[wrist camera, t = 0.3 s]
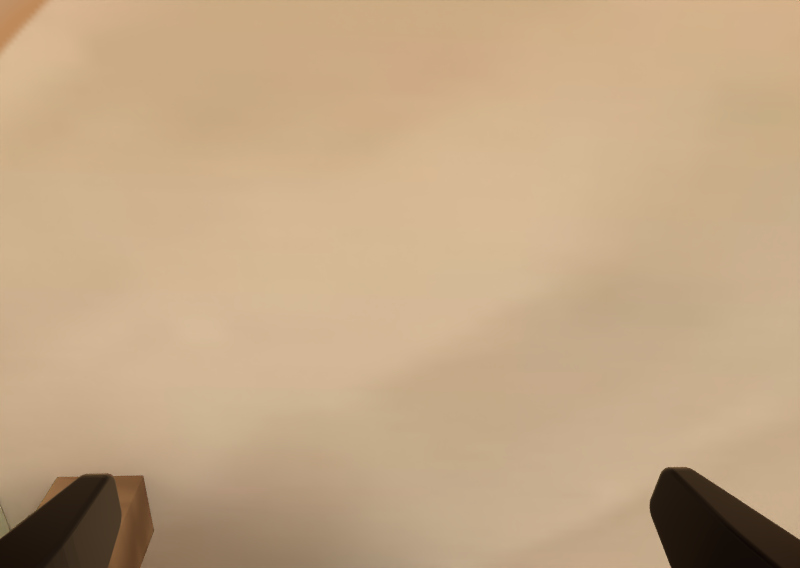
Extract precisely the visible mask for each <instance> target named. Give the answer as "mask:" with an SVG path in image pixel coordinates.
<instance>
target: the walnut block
mask: <svg viewBox="0 0 800 568" xmlns="http://www.w3.org/2000/svg"><path fill="white" fill-rule="evenodd" d="M113 477H114V479H115V481H116V486H117V491H118V496H119V501H120V506H121V511H122V519H121V526H120V530H119V533H118V536H117V540H116V543H115V546H114V550H113V553H112V556H111V560H110V563H109V566H108V568H140V566H141V564H142V561H143V558H144V556H145V553H146V550H147V548H148V545H149V542H150V540H151V537H152V534H153V532H154V529H153V524H152V519H151V513H150V508H149V503H148V498H147V493H146V488H145V483H144V478H143V476H113ZM77 478H78V477H57V479H56V480H55V482H54V484H53V485H52V487H51V488H50V490H49V492H48V493H47V495H46V496H45V498H44V499H43V501H42V503H41V504H40V506H39V507H38V509H39V508H40V507H41V506H42V505H44V504H45V503H46V502H48V501H49V500H50V499H51V498H53V497H54V496H55V495H56V494H58V493H59V492H60V491H62V490H63V489H64V488H65V487H67V486H68V485H69V484H71V483H72V482H73V481H74V480H76V479H77Z"/></svg>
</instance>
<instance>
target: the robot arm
mask: <svg viewBox="0 0 800 568" xmlns="http://www.w3.org/2000/svg"><path fill="white" fill-rule="evenodd" d="M650 513H651V517H652V519H653V522H654V525H655V527H656V530H657V532H658V535H659V537H660V540H661V543H662V545H663V548H664V550H665V553H666V556H667V558H668V561H669V563H670V566H671V568H800V539H798V538H796V537H795V536H793V535H792V534H790V533H789V532H787V531H786V530H784V529H783V528H781V527H780V526H778V525H777V524H775V523H774V522H772V521H771V520H769V519H767V518H766V517H764V516H763V515H761V514H760V513H758V512H757V511H755V510H754V509H752V508H751V507H749V506H748V505H746V504H745V503H743V502H741V501H740V500H738V499H737V498H735V497H734V496H732V495H731V494H729V493H728V492H726V491H725V490H723V489H722V488H720V487H719V486H717V485H715V484H714V483H712V482H711V481H709V480H708V479H706V478H705V477H703V476H702V475H700V474H699V473H697V472H696V471H694V470H692V469H690V468H687V467H668V468H665V469H664V470H663V471H662V472H661V474H660V476H659V479H658V481H657V484H656V487H655V489H654V492H653V494H652V497H651V499H650ZM121 519H122V511H121V506H120V501H119V496H118V491H117V486H116V481H115V479H114V477H113V476H112V475H111V474H84V475H82V476H80V477H78V478H77V479H76V480H74V481H73V482H72V483H71V484H69V485H68V486H67V487H65V488H64V489H63V490H62V491H60V492H59V493H58V494H56V495H55V496H54V497H53V498H51V499H50V500H49V501H48V502H46V503H45V504H44V505H42V506H41V507H40V508H39V509H37V510H36V511H35V512H33V513H32V514H31V515H30V516H28V517H27V518H26V519H25V520H23V521H22V522H21V523H19V524H18V525H17V526H16V527H14V528H13V529H12V530H10V531H9V532H8V533H7V534H5V535H4V536H3V537H2V538H0V568H108V566H109V563H110V560H111V556H112V553H113V550H114V546H115V543H116V540H117V536H118V533H119V530H120V526H121Z"/></svg>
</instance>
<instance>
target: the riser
mask: <svg viewBox="0 0 800 568" xmlns="http://www.w3.org/2000/svg"><path fill="white" fill-rule="evenodd" d="M9 531H10V530H9V527H8V524H7V522H6V519H5V516H4V514H3V511H2V508H1V505H0V538H2V537H3V536H4V535H5V534H7V533H8V532H9Z"/></svg>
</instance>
